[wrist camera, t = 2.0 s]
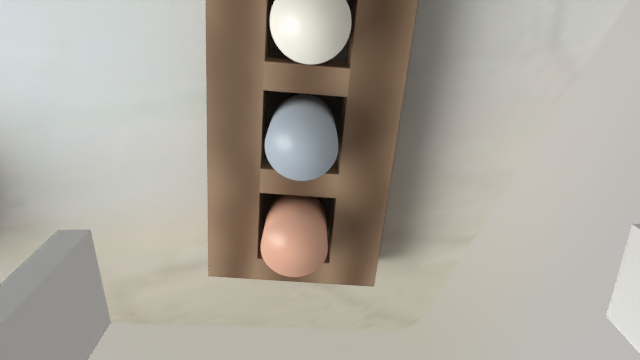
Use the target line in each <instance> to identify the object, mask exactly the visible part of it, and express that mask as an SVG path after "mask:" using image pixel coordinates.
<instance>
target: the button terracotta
mask: <svg viewBox="0 0 640 360" xmlns="http://www.w3.org/2000/svg"><path fill="white" fill-rule="evenodd" d="M327 252H328V242H327V224H326V212H325V209H324V207H323V205H322V203H321V202H320V201H319V200H318V199H317V198H316V197H312V196H298V195H284V194H281V195H279V196H278V197H277V198H275V199H274V200H273V202H272V203H271V204H270V206H269V208H268V212H267V216H266V221H265V226H264V231H263V236H262V240H261V254H262V257H263V259H264V261H265V263H266V264H267V265H268V266H269V268H271V269H272V270H273V271H275V272H276V273H278V274H281V275H283V276H288V277H302V276H306V275H309V274H311V273H313V272H314V271H316V270H317V269H318V268H319V267H320V266H321V265H322V264H323V263H324V261H325V259H326V256H327Z"/></svg>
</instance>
